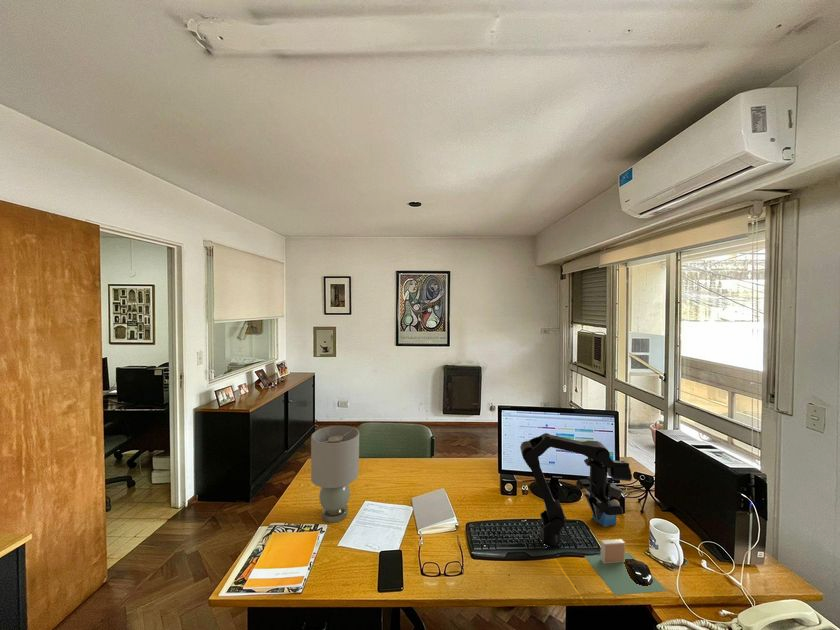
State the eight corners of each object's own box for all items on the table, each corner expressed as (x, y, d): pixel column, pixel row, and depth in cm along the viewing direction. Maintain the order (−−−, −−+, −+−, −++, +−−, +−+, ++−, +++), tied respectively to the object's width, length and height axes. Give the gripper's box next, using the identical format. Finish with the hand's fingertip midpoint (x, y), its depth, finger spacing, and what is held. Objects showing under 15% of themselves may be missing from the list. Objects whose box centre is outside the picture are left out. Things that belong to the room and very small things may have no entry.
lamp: (346, 534, 127) (347, 445, 126) (300, 526, 131) (301, 440, 130) (365, 504, 147) (366, 427, 146) (324, 498, 151) (325, 423, 150)
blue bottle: (604, 527, 133) (604, 499, 133) (592, 518, 139) (593, 490, 139) (616, 525, 135) (616, 497, 135) (604, 516, 141) (604, 489, 141)
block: (604, 563, 113) (604, 544, 113) (600, 559, 115) (600, 540, 115) (625, 562, 114) (625, 542, 114) (620, 557, 116) (621, 538, 116)
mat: (615, 596, 101) (615, 595, 101) (583, 557, 117) (583, 556, 117) (667, 591, 103) (667, 590, 103) (629, 554, 119) (629, 552, 119)
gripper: (637, 490, 112) (636, 534, 112) (601, 464, 130) (600, 502, 131) (607, 491, 111) (606, 536, 111) (575, 465, 129) (575, 503, 129)
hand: (597, 518), depth 120 cm, fingers closed
